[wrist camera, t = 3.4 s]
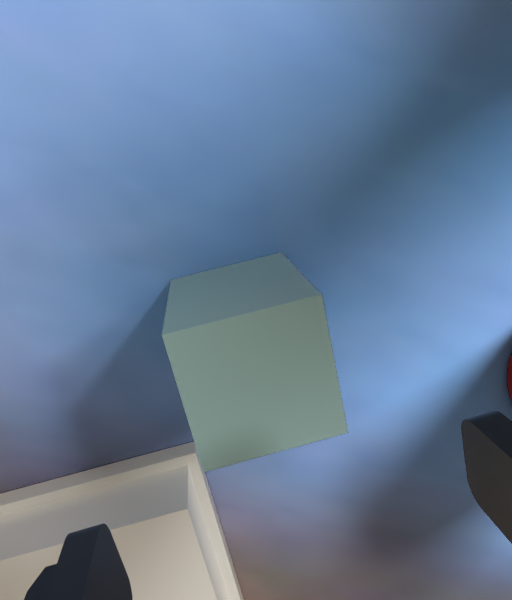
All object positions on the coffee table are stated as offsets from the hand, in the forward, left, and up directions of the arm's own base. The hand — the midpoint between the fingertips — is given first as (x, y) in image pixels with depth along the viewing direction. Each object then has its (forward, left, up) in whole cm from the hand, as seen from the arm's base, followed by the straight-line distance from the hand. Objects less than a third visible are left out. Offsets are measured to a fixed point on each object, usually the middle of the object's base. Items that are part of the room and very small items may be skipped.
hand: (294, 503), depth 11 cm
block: (0, 0, -12) cm, 12 cm away
